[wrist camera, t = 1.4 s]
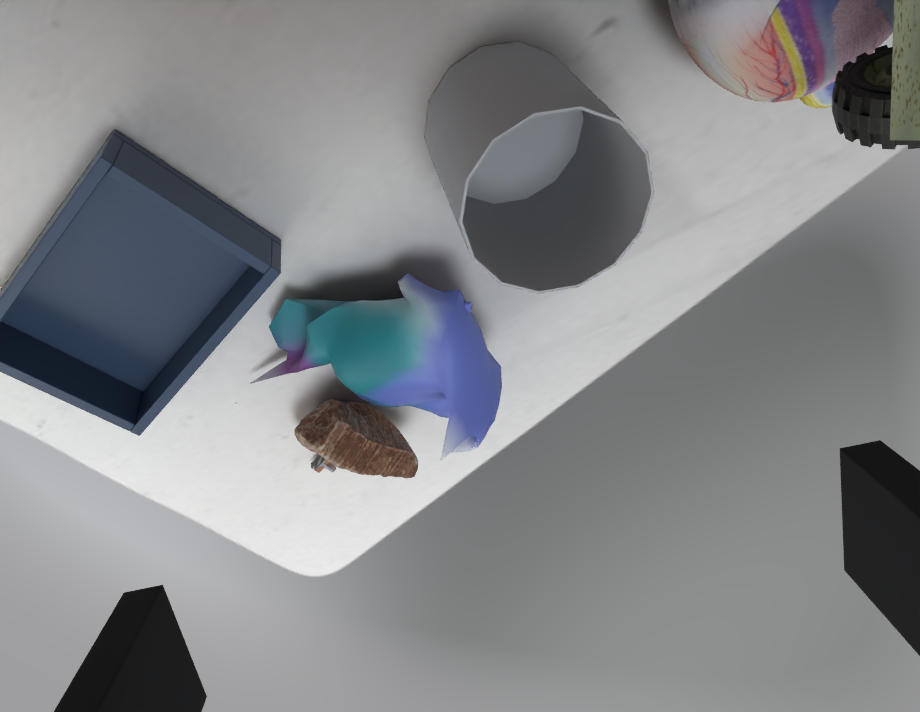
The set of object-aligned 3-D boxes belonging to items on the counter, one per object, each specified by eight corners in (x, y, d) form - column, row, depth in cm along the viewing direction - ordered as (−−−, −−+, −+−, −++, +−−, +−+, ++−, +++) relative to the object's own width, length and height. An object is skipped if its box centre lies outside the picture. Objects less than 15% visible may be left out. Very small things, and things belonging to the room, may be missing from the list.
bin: (-17, 315, 41) (-40, 353, 38) (114, 128, 37) (100, 156, 34) (148, 396, 46) (139, 436, 43) (281, 240, 42) (281, 272, 39)
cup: (473, 226, 43) (515, 323, 35) (393, 104, 38) (421, 185, 31) (605, 144, 42) (680, 226, 34) (539, 7, 37) (609, 65, 29)
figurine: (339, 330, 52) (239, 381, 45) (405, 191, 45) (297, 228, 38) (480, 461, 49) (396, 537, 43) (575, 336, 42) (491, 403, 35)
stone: (433, 410, 48) (421, 489, 46) (376, 421, 52) (363, 494, 50) (340, 373, 44) (323, 458, 42) (287, 388, 48) (269, 466, 46)
